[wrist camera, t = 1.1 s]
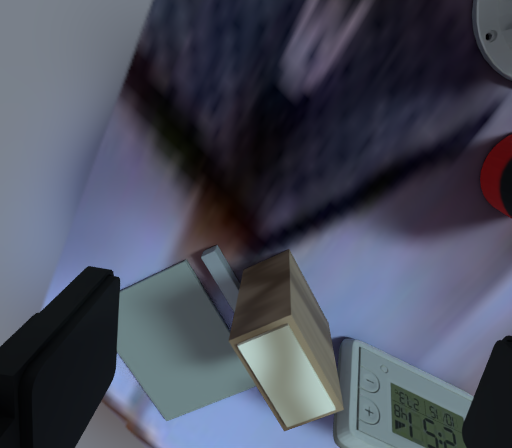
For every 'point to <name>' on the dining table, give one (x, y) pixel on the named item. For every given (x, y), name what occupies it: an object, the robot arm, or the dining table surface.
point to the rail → (222, 274)
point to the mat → (178, 343)
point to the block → (285, 342)
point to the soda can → (498, 176)
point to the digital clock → (394, 403)
